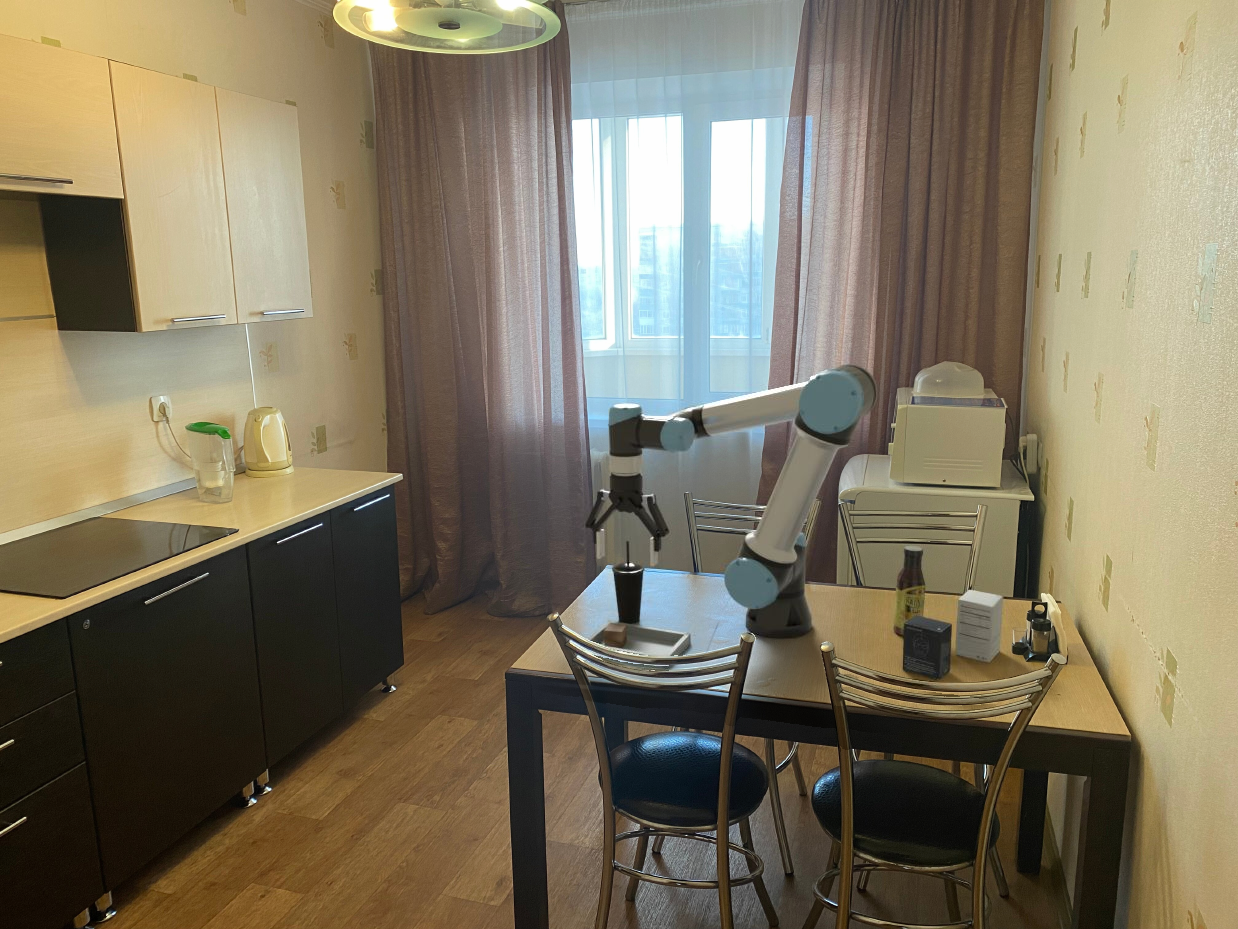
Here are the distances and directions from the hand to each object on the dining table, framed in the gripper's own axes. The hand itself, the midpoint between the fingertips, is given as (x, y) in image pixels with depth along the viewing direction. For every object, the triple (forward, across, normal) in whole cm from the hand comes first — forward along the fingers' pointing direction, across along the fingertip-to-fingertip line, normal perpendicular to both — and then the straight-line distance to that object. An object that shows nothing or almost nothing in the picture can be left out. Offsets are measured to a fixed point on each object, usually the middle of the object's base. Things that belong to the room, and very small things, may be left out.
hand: (627, 560), depth 210 cm
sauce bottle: (+15, -61, -18) cm, 66 cm away
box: (+15, -67, +1) cm, 69 cm away
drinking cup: (+16, 0, 0) cm, 16 cm away
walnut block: (+15, -3, +14) cm, 21 cm away
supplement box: (+15, -76, -12) cm, 79 cm away
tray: (+15, -8, +14) cm, 22 cm away
